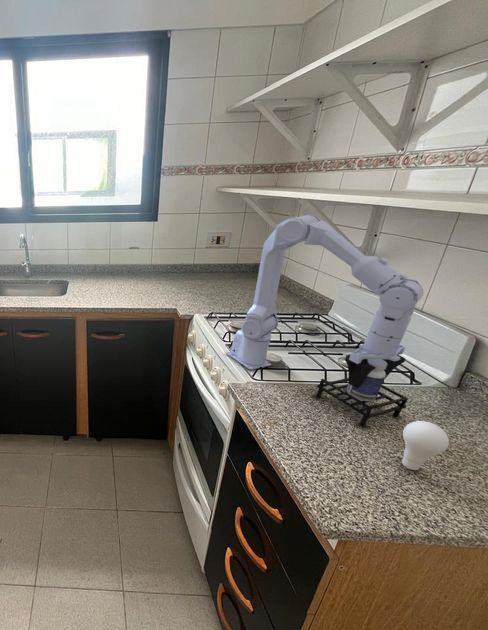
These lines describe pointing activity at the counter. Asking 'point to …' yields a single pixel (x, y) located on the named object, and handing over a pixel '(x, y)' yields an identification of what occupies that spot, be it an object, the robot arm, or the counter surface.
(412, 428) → the lightbulb
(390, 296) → the robot arm
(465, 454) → the counter surface
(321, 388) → the wire rack
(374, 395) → the pill bottle
